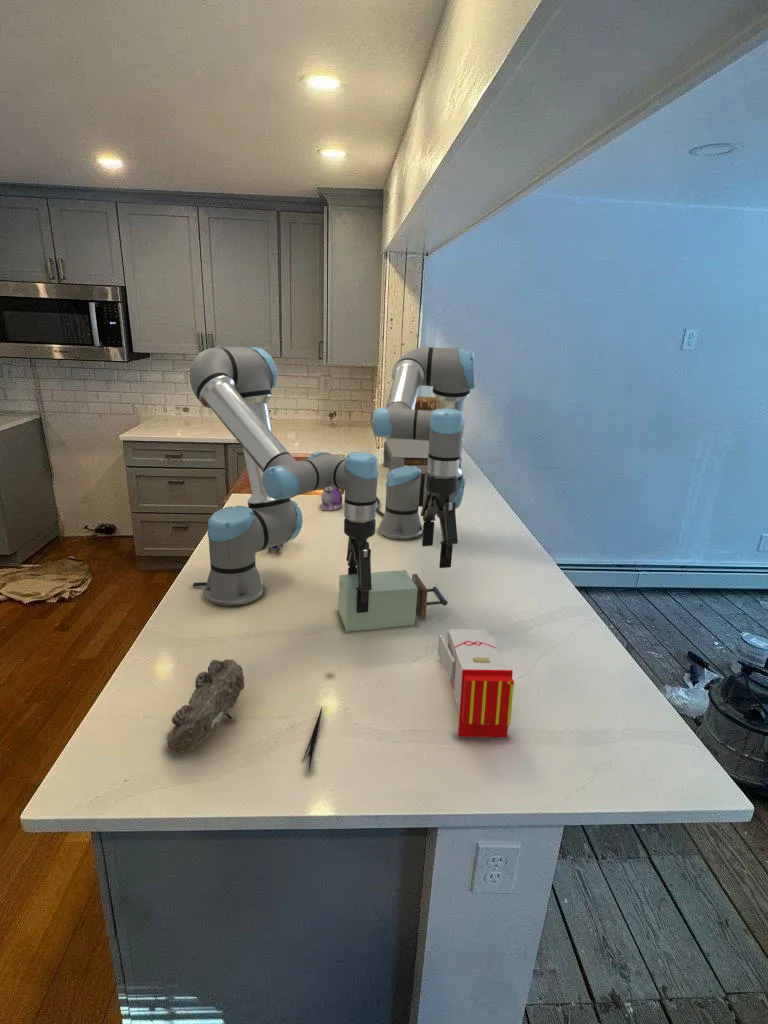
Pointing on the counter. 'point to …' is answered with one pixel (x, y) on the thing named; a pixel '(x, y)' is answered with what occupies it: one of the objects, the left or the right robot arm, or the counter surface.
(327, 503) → the figurine
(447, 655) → the toy
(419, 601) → the drawer
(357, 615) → the sage green rectangular box
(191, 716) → the fossil
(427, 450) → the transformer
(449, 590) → the counter surface
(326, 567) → the counter surface
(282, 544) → the figurine character
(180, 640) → the counter surface
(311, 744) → the feather
